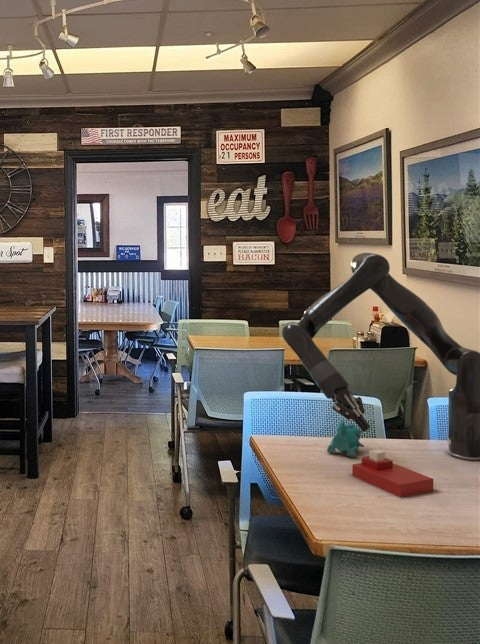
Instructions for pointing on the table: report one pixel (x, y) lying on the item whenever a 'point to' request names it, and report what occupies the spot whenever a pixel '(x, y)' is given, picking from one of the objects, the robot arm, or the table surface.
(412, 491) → the red push button box
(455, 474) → the table surface
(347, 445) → the toy
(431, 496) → the table surface
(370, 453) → the white cube
